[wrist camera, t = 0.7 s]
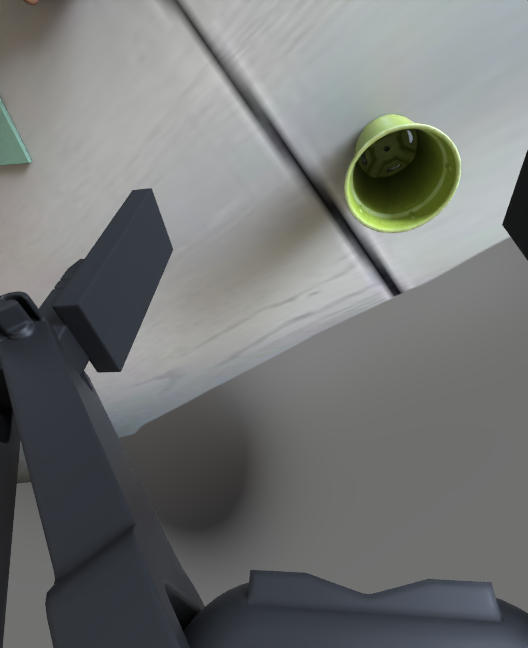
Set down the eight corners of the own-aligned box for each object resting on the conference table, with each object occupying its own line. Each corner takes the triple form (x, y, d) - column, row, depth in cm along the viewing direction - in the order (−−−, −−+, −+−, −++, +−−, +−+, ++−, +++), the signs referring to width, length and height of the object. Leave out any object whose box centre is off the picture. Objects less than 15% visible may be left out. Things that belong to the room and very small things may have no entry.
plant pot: (358, 206, 43) (367, 248, 37) (322, 128, 38) (326, 162, 31) (444, 165, 39) (471, 205, 33) (419, 72, 34) (445, 98, 28)
